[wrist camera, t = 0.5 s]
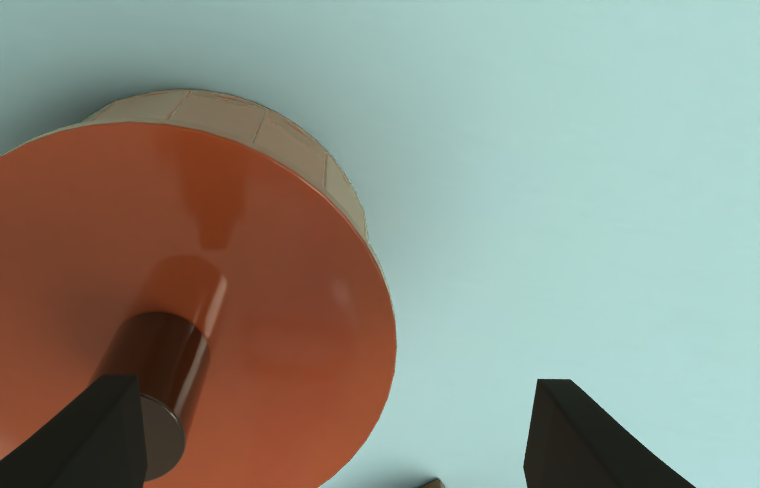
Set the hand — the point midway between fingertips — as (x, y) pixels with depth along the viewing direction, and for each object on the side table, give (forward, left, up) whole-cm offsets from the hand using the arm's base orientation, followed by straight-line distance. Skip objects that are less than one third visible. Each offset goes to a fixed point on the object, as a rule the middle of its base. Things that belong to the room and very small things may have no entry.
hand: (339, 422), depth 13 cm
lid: (-3, +4, -5) cm, 7 cm away
